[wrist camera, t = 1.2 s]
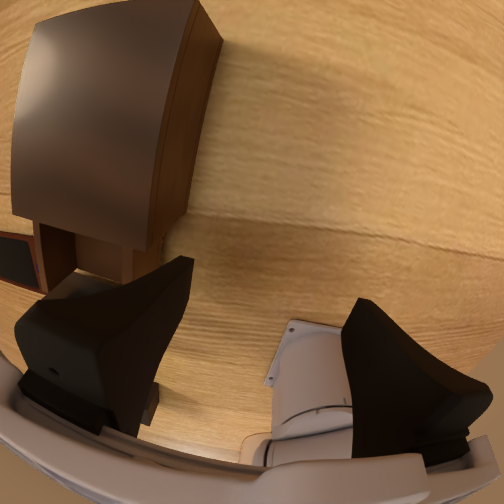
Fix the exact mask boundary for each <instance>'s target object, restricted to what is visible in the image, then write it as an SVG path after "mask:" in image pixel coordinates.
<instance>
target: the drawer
mask: <svg viewBox="0 0 504 504" xmlns="http://www.w3.org/2000/svg"><path fill="white" fill-rule="evenodd" d="M33 231H34V241H35V249H36V257H37V263H38V270H39V276H40V281H41V286H42V291H44V292H46V293H48V294H47V295H46V296H45V297H44V298H42V299H41V300H48V299H64V298H72V297H79V296H84V295H90V294H94V293H98V292H101V291H105V290H109V289H112V288H115V287H118V286H115V285H112V284H109V283H106V282H103V281H100V280H97V279H94V278H91V277H88V276H85V275H82V274H80V273H77V272H74V271H75V270H76V269H77V268H78V269H81V270H84V271H87V272H90V273H93V274H96V275H99V276H102V277H105V278H108V279H111V280H114V281H117V282H120V283H122V285H124V284H126V283H129V282H131V281H134V280H136V279H138V278H140V277H142V276H144V275H146V274H148V273H150V272H152V271H154V270H156V269H158V268H159V267H160V262H161V250H162V239H163V235H162V236H161V237H160V238H159V239H158V240H157V241H156V242H155V243H154V244H153V245H152V246H151V248H150V249H149V250H148V251H147V252H142V251H138V250H134V249H131V248H127V247H123V246H120V245H116V244H112V243H109V242H105V241H102V240H98V239H94V238H91V237H87V236H84V235H80V234H77V233H73V232H70V231H66V230H63V229H59V228H56V227H53V226H49V225H46V224H43V223H39V222H36V221H33Z"/></svg>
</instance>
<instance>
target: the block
mask: <svg viewBox="0 0 504 504" xmlns="http://www.w3.org/2000/svg"><path fill="white" fill-rule="evenodd" d="M158 403H159V390H158V383H155V382H153V384H152V387H151V390H150V393H149V396H148V399H147V402H146V406H145V409H144V413H143V416H142V420H141V424H144V425H147V426H150V424H151V421H152V419H153V416H154V413H155V411H156V408H157V405H158Z"/></svg>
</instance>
